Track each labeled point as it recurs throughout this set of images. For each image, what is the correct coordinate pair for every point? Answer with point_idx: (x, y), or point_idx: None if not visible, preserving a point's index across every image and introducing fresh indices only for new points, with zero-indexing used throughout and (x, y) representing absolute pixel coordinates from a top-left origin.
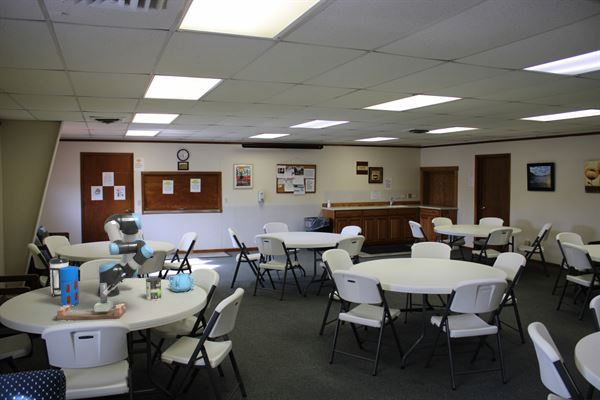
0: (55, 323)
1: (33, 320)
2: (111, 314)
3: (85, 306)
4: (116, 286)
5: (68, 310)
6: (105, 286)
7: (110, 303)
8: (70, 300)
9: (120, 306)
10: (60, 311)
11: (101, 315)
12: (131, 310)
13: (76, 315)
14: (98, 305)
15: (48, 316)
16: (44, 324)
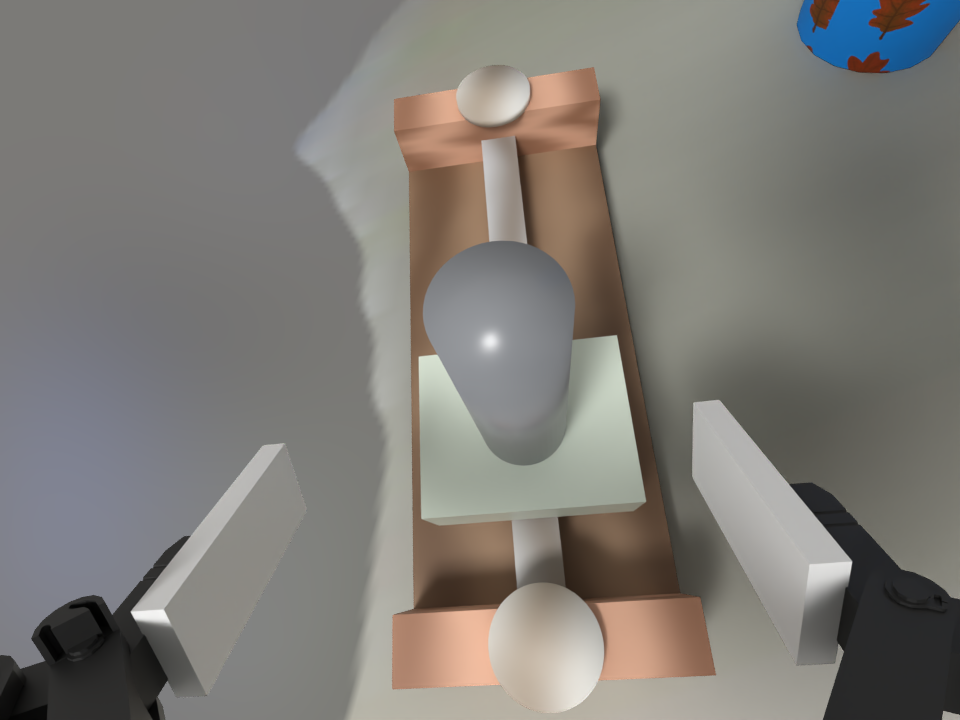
0: (363, 175)
1: (448, 26)
2: (459, 559)
3: (828, 158)
4: (736, 543)
5: (510, 141)
6: (464, 387)
7: (524, 511)
8: (836, 5)
9: (494, 673)
10: (395, 122)
11: None
12: (752, 712)
13: (455, 241)
14: (420, 402)
15: (532, 56)
16: (352, 124)
